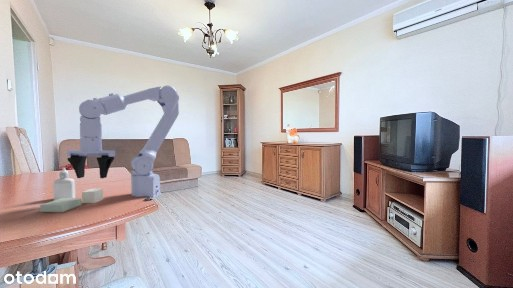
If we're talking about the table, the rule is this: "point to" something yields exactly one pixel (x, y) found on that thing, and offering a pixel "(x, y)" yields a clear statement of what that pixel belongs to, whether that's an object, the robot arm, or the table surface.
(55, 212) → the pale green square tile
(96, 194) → the cream block
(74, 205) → the sage slab
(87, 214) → the table surface
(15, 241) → the table surface
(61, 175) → the eye dropper bottle
